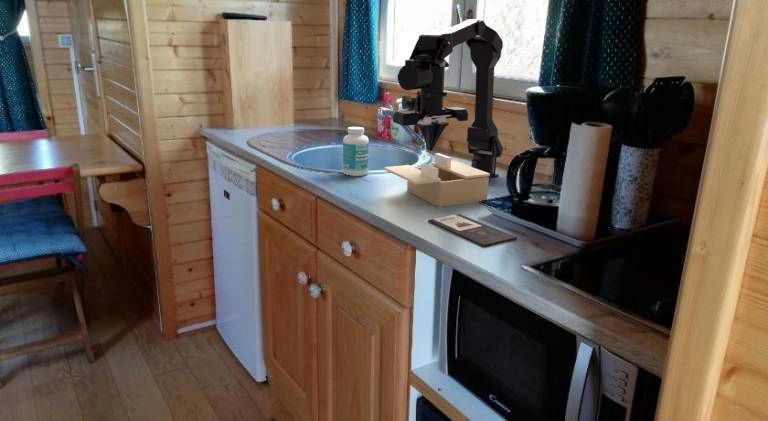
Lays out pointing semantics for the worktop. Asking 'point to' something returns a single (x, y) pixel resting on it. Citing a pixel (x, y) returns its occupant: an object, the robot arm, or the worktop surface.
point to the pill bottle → (355, 152)
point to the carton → (451, 189)
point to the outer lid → (416, 173)
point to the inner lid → (457, 167)
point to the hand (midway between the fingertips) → (429, 150)
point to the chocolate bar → (472, 230)
